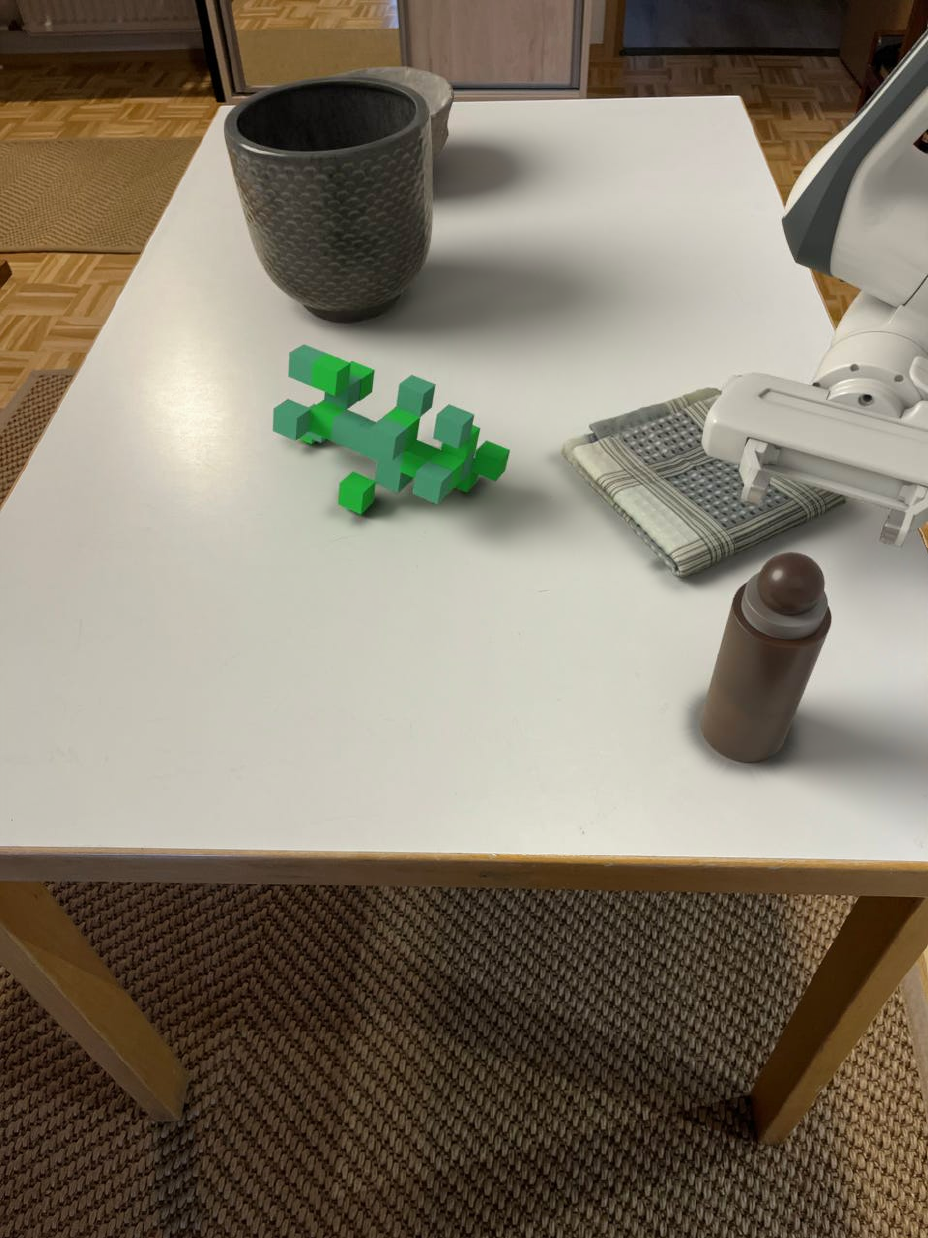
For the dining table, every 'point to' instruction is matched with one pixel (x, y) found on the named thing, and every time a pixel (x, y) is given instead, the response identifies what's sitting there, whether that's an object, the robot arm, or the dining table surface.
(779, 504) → the dish towel
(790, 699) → the pepper mill
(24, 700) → the dining table surface
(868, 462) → the robot arm
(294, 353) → the building blocks
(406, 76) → the bowl
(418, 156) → the planter
